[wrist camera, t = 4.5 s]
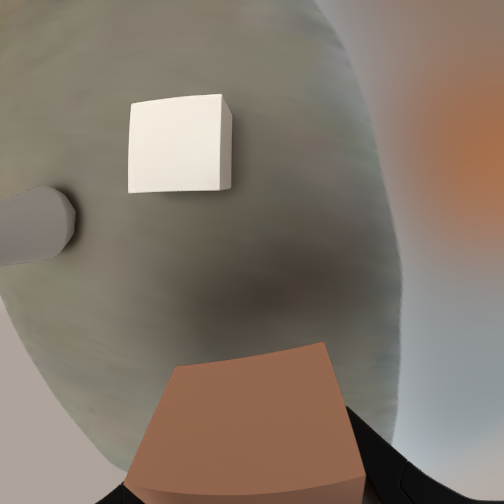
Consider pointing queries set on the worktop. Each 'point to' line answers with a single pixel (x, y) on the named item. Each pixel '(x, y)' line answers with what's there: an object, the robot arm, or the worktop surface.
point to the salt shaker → (35, 225)
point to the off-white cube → (180, 144)
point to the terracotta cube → (251, 435)
